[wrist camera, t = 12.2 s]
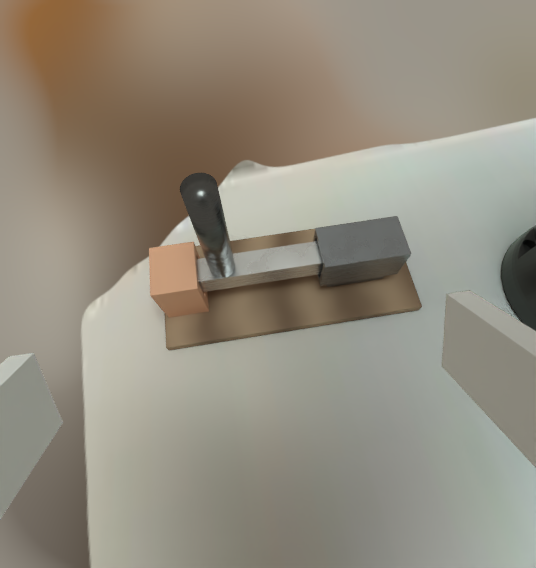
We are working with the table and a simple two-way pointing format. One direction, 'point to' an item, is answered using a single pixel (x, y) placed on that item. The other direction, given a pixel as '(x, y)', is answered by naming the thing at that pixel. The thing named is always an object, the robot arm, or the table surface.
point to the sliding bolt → (246, 265)
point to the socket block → (176, 280)
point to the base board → (287, 302)
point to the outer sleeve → (361, 251)
